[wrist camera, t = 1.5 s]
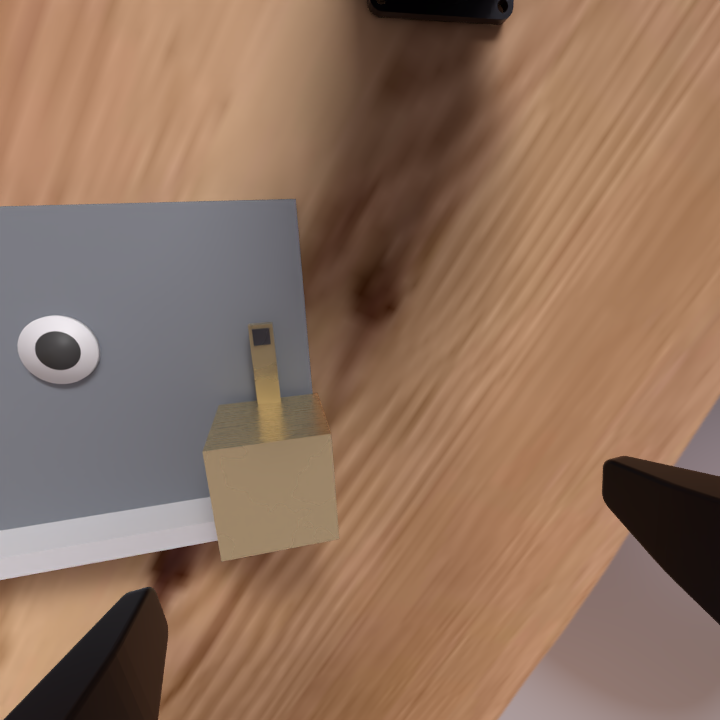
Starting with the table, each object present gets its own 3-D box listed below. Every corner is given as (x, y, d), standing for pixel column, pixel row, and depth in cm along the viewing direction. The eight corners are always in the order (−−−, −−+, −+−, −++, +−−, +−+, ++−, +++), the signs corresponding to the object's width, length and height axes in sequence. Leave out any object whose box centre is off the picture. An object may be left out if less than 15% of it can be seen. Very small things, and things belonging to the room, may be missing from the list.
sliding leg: (311, 318, 17) (323, 338, 13) (324, 478, 20) (339, 539, 15) (206, 327, 17) (185, 351, 12) (232, 493, 19) (221, 561, 15)
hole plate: (293, 203, 18) (305, 176, 12) (319, 490, 22) (337, 581, 16) (-378, 221, 14) (-909, 195, 8) (-194, 576, 18) (-443, 748, 12)
